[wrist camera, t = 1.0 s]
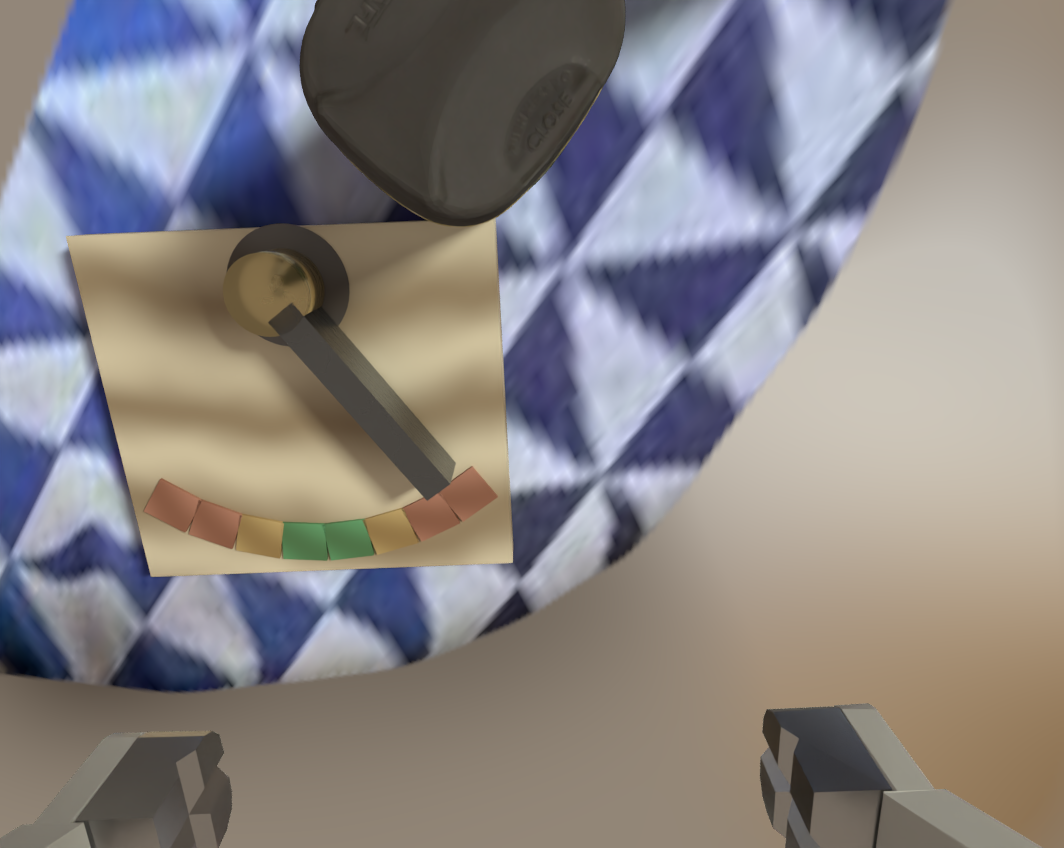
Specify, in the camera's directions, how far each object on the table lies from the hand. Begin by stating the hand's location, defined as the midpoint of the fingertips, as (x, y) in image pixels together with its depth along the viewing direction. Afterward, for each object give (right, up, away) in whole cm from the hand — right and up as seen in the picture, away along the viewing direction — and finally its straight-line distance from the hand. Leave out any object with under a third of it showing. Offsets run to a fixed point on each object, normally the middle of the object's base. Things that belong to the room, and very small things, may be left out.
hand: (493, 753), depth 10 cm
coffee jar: (-2, +21, +25) cm, 33 cm away
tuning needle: (-9, +8, +27) cm, 29 cm away
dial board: (-12, +6, +30) cm, 33 cm away
